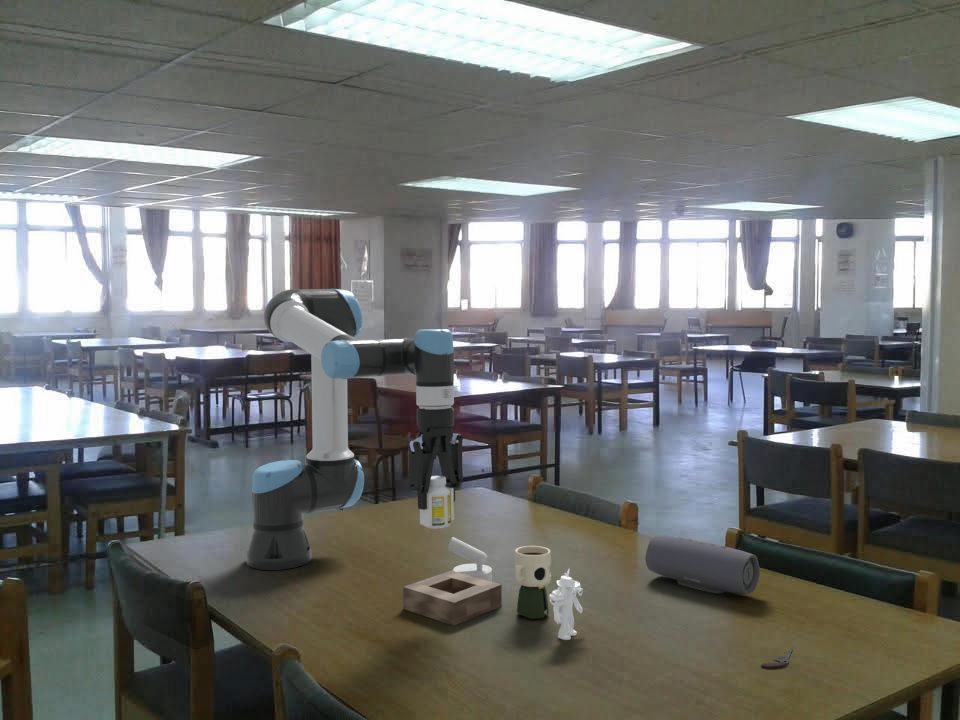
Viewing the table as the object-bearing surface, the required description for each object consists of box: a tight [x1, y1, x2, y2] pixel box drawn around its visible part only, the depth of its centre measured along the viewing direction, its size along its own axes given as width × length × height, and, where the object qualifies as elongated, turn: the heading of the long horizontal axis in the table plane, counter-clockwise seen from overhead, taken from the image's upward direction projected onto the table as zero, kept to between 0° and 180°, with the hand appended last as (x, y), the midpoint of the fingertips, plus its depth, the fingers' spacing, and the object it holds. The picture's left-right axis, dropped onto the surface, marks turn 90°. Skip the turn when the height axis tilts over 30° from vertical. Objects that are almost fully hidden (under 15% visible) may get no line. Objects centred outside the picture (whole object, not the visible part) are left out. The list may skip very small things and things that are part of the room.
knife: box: [760, 646, 794, 670], centre depth 151 cm, size 14×4×1 cm, turn 152°
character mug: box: [514, 545, 552, 619], centre depth 169 cm, size 11×7×13 cm, turn 142°
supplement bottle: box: [423, 475, 452, 530], centre depth 173 cm, size 5×5×10 cm
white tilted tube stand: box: [446, 536, 493, 582], centre depth 191 cm, size 9×10×10 cm
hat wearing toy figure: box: [548, 567, 584, 641], centre depth 159 cm, size 9×4×12 cm, turn 143°
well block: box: [402, 570, 503, 627], centre depth 174 cm, size 14×14×4 cm
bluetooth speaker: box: [645, 534, 761, 595], centre depth 186 cm, size 23×9×10 cm, turn 47°
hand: (437, 521), depth 173 cm, fingers closed on supplement bottle, 5 cm apart
